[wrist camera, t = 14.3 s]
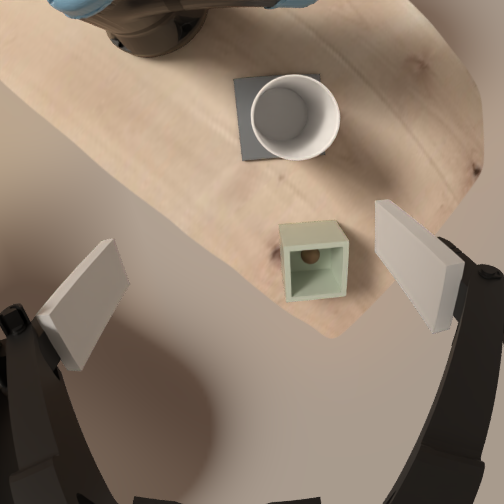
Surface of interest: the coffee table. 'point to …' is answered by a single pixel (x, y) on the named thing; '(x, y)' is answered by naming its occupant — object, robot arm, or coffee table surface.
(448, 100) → the coffee table surface
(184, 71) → the coffee table surface
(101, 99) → the coffee table surface
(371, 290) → the coffee table surface
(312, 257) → the walnut ball
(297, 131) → the cup
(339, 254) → the planter
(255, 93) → the coaster
